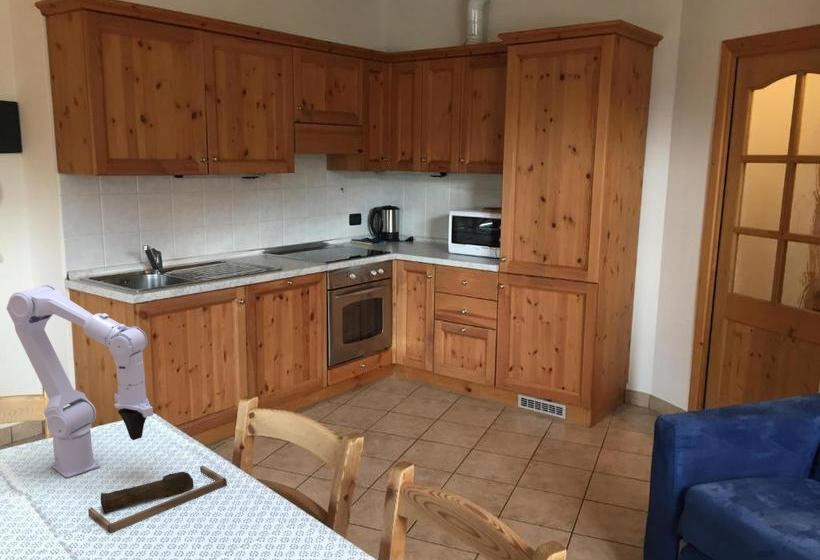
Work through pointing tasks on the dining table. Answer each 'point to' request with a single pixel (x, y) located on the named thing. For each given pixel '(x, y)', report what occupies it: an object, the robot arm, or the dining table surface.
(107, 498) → the hand tool
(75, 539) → the dining table surface
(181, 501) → the tool bay
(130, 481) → the dining table surface
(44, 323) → the robot arm
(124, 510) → the dining table surface
